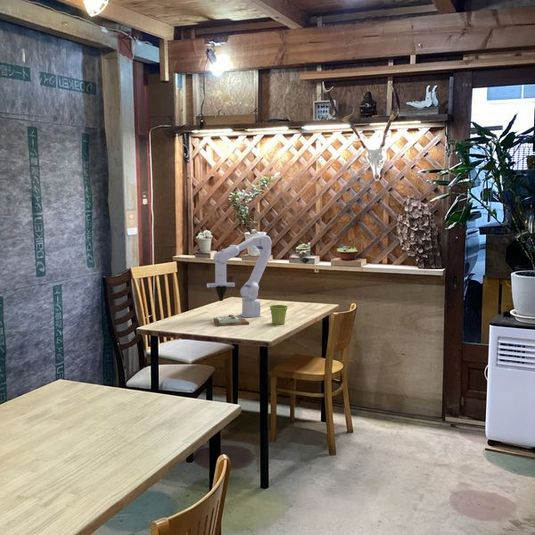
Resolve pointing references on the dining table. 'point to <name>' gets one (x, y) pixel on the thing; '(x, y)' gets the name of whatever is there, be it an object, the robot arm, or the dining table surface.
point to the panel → (227, 319)
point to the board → (241, 322)
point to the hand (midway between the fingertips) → (220, 300)
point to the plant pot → (278, 313)
